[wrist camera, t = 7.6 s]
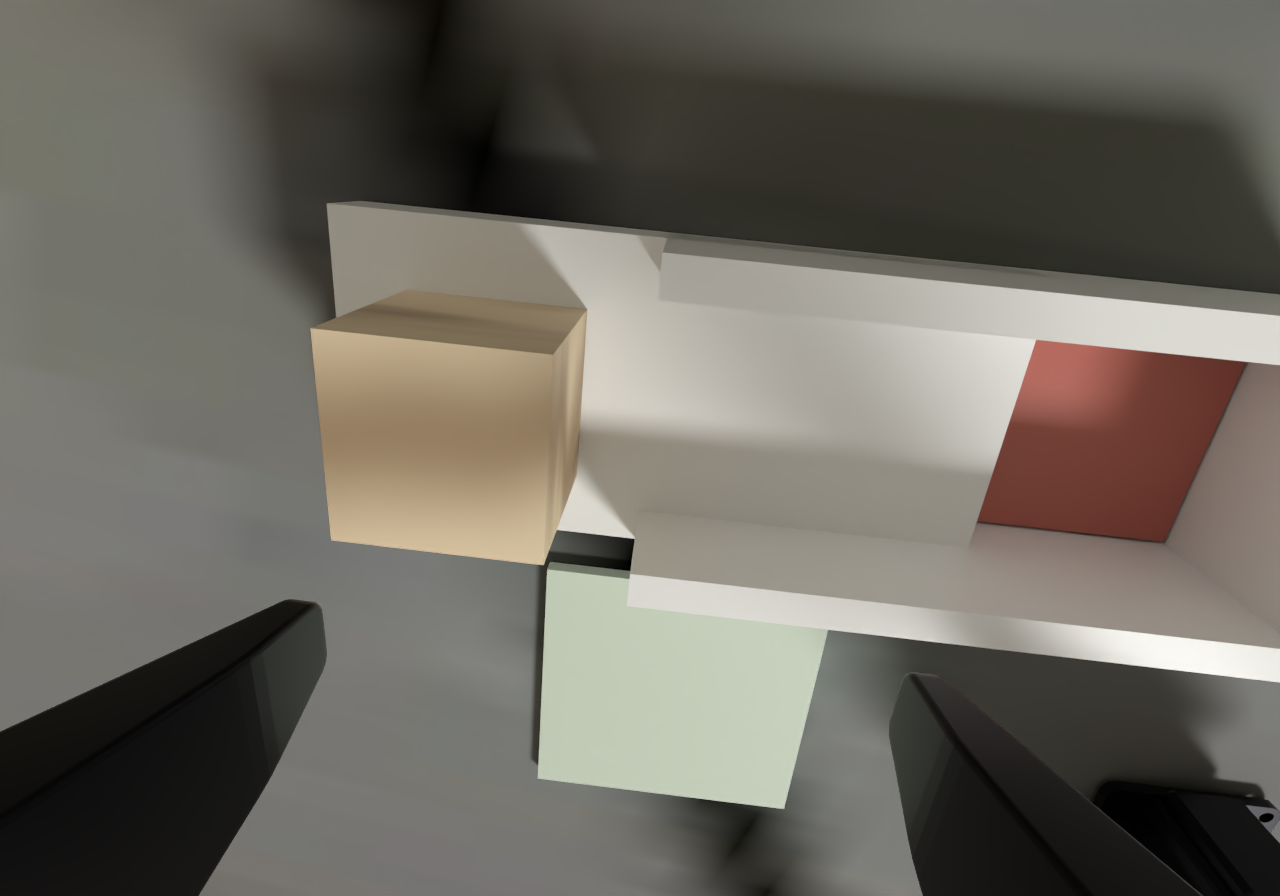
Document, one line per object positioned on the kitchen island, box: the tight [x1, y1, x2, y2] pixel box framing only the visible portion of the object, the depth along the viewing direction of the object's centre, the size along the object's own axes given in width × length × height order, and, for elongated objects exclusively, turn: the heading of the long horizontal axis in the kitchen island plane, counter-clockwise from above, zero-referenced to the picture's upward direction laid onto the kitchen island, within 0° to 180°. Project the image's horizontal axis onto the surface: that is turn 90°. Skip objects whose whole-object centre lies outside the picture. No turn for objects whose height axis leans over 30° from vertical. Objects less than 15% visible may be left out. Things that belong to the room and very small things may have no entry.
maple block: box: [311, 290, 587, 565], centre depth 17 cm, size 5×5×5 cm
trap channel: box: [327, 201, 1280, 682], centre depth 18 cm, size 9×27×6 cm, turn 85°
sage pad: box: [538, 562, 828, 809], centre depth 25 cm, size 10×10×1 cm
